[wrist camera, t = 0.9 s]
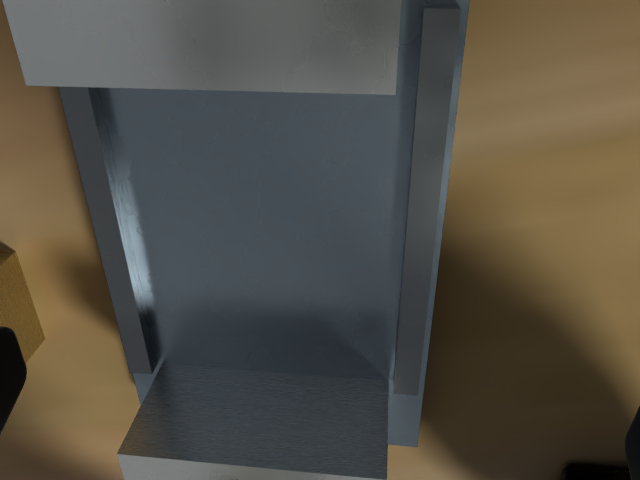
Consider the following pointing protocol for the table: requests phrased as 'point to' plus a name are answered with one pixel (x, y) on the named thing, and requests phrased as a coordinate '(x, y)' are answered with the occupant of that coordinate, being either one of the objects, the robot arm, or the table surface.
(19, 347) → the robot arm
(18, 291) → the brass block
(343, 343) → the vise
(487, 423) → the table surface
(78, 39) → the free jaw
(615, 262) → the table surface
